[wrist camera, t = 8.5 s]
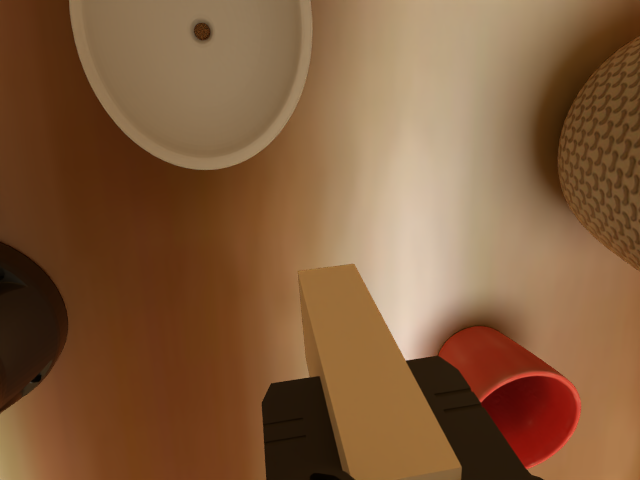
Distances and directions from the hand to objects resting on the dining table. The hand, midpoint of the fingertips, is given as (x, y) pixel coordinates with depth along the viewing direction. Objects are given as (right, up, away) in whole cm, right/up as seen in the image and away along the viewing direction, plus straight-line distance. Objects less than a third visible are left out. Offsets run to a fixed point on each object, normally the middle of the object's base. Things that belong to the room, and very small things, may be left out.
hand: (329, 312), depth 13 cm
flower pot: (+15, -10, +36) cm, 40 cm away
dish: (-9, +17, +21) cm, 28 cm away
